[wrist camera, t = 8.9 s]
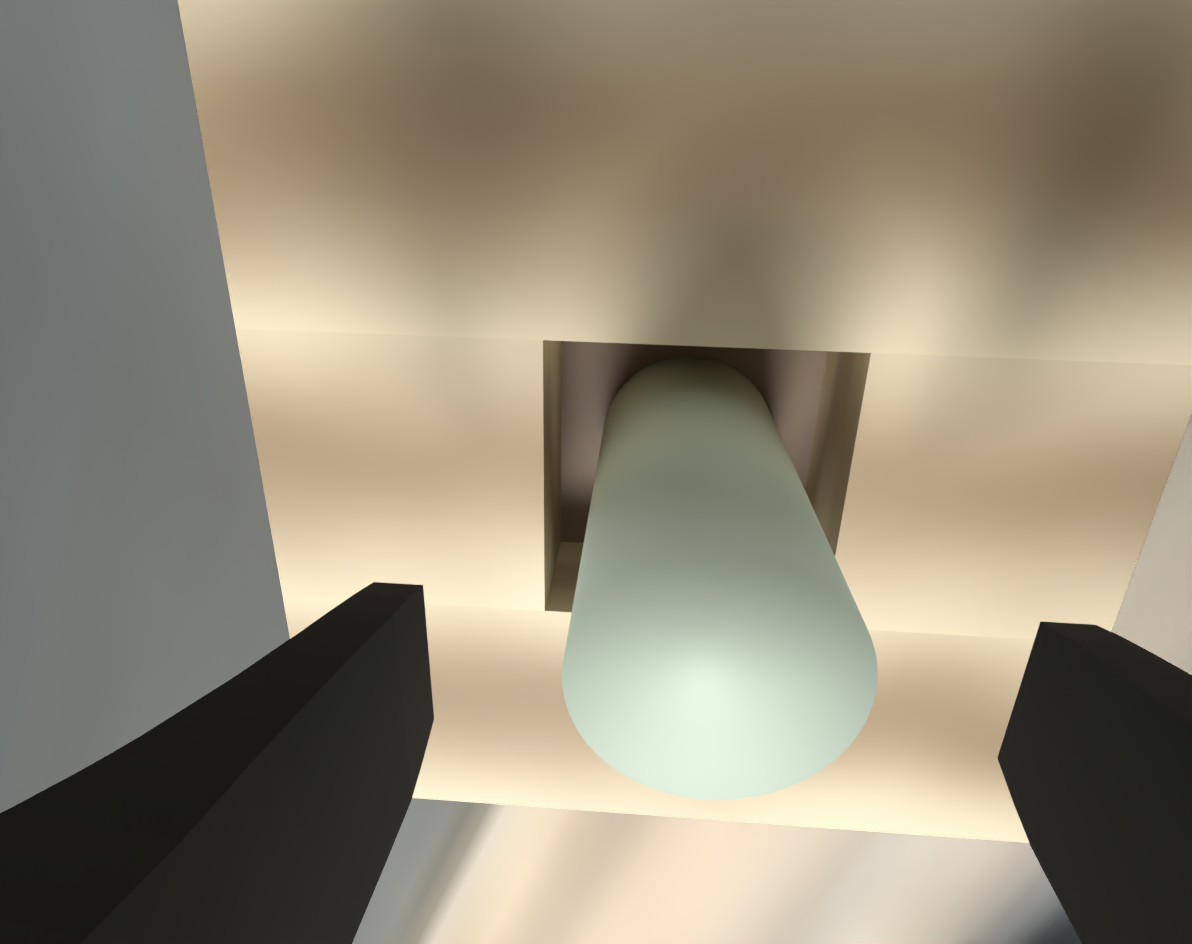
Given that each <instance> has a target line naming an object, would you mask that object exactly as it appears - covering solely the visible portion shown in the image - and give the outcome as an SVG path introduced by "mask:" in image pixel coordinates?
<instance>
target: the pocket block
mask: <svg viewBox="0 0 1192 944" xmlns="http://www.w3.org/2000/svg"><path fill="white" fill-rule="evenodd" d="M178 4H179V10H180V16H181V21H182V27H183V33H184V39H185V44H186V50H187V56H188V61H189V67H190V73H191V78H192V84H193V90H194V95H195V101H196V107H197V112H198V118H199V124H200V129H201V135H202V141H203V146H204V152H205V158H206V163H207V169H208V175H209V181H210V186H211V192H212V198H213V203H214V209H215V215H216V220H217V226H218V232H219V237H220V243H221V249H222V254H223V260H224V266H225V271H226V277H227V283H228V288H229V294H230V300H231V305H232V311H233V317H234V322H235V328H236V334H237V340H238V345H239V351H240V357H241V362H242V368H243V374H244V379H245V385H246V391H247V396H248V402H249V408H250V413H251V419H252V425H253V430H254V436H255V442H256V447H257V453H258V459H259V464H260V470H261V476H262V481H263V487H264V493H265V499H266V504H267V510H268V516H269V521H270V527H271V533H272V538H273V544H274V550H275V555H276V561H277V567H278V572H279V578H280V584H281V589H282V595H283V601H284V606H285V612H286V618H287V623H288V629H289V635H290V639H291V638H292V637H294V636H295V635H297V634H298V633H299V632H301V631H302V630H304V629H305V628H306V627H308V626H309V625H311V624H312V623H314V622H315V621H316V620H318V619H319V618H321V617H322V616H324V615H325V614H326V613H328V612H329V611H331V610H332V609H334V608H335V607H336V606H338V605H339V604H341V603H342V602H344V601H345V600H347V599H348V598H350V597H351V596H352V595H354V594H355V593H357V592H359V591H360V590H362V589H363V588H365V587H367V586H368V585H370V584H371V583H373V582H380V583H397V584H414V585H423V591H424V603H425V615H426V627H427V639H428V651H429V663H430V675H431V687H432V699H433V711H434V721H433V725H432V729H431V733H430V736H429V740H428V744H427V747H426V751H425V755H424V759H423V762H422V766H421V769H420V773H419V776H418V779H417V783H416V786H415V790H414V793H413V796H412V798H422V799H435V800H449V801H463V802H476V803H490V804H504V805H517V806H531V807H545V808H558V809H572V810H586V811H599V812H613V813H626V814H640V815H654V816H667V817H681V818H695V819H708V820H722V821H736V822H749V823H763V824H776V825H790V826H804V827H817V828H831V829H845V830H858V831H872V832H886V833H899V834H913V835H927V836H940V837H954V838H967V839H981V840H995V841H1008V842H1022V843H1029V841H1028V838H1027V836H1026V833H1025V831H1024V828H1023V826H1022V823H1021V821H1020V818H1019V816H1018V813H1017V811H1016V808H1015V806H1014V803H1013V800H1012V797H1011V795H1010V792H1009V789H1008V786H1007V784H1006V781H1005V778H1004V775H1003V772H1002V770H1001V767H1000V764H999V761H998V759H997V758H998V754H999V751H1000V748H1001V745H1002V742H1003V739H1004V735H1005V732H1006V729H1007V726H1008V723H1009V720H1010V716H1011V713H1012V710H1013V707H1014V704H1015V700H1016V697H1017V694H1018V691H1019V688H1020V685H1021V681H1022V678H1023V675H1024V672H1025V669H1026V666H1027V662H1028V659H1029V656H1030V653H1031V650H1032V647H1033V643H1034V640H1035V637H1036V634H1037V631H1038V628H1039V624H1040V621H1041V622H1058V623H1075V624H1092V625H1097V626H1100V627H1102V628H1104V629H1106V630H1108V631H1110V632H1111V631H1112V628H1113V626H1114V623H1115V620H1116V617H1117V615H1118V612H1119V609H1120V607H1121V604H1122V601H1123V598H1124V596H1125V593H1126V590H1127V588H1128V585H1129V582H1130V579H1131V577H1132V574H1133V571H1134V569H1135V566H1136V563H1137V560H1138V558H1139V555H1140V552H1141V550H1142V547H1143V544H1144V541H1145V539H1146V536H1147V533H1148V531H1149V528H1150V525H1151V522H1152V520H1153V517H1154V514H1155V512H1156V509H1157V506H1158V503H1159V501H1160V498H1161V495H1162V492H1163V490H1164V487H1165V484H1166V482H1167V479H1168V476H1169V473H1170V471H1171V468H1172V465H1173V463H1174V460H1175V457H1176V454H1177V452H1178V449H1179V446H1180V444H1181V441H1182V438H1183V435H1184V433H1185V430H1186V427H1187V425H1188V422H1189V419H1190V416H1191V414H1192V0H178ZM678 356H701V357H707V358H712V359H715V360H718V361H721V362H723V363H726V364H728V365H730V366H732V367H734V368H735V369H737V370H738V371H740V372H741V373H742V374H744V375H745V376H746V377H747V378H748V379H749V380H750V381H751V382H752V383H753V384H754V385H755V386H756V387H757V389H758V390H759V392H760V393H761V395H762V396H763V399H764V401H765V403H766V405H767V407H768V409H769V411H770V414H771V416H772V418H773V420H774V423H775V425H776V427H777V429H778V431H779V434H780V436H781V438H782V440H783V443H784V445H785V447H786V449H787V451H788V454H789V456H790V458H791V460H792V463H793V465H794V467H795V469H796V471H797V474H798V476H799V478H800V480H801V483H802V485H803V487H804V489H805V491H806V494H807V496H808V498H809V500H810V503H811V505H812V507H813V509H814V511H815V514H816V516H817V518H818V520H819V522H820V525H821V527H822V529H823V531H824V534H825V536H826V538H827V540H828V542H829V545H830V547H831V549H832V551H833V554H834V556H835V558H836V560H837V562H838V565H839V567H840V569H841V571H842V574H843V576H844V578H845V580H846V582H847V585H848V587H849V589H850V591H851V594H852V596H853V598H854V600H855V602H856V605H857V607H858V609H859V611H860V614H861V616H862V618H863V620H864V622H865V625H866V627H867V629H868V631H869V634H870V636H871V638H872V642H873V645H874V649H875V652H876V658H877V667H878V678H877V690H876V694H875V698H874V703H873V706H872V708H871V711H870V713H869V716H868V718H867V720H866V722H865V724H864V726H863V727H862V729H861V731H860V732H859V734H858V735H857V737H856V738H855V739H854V740H853V742H852V743H851V744H850V745H849V747H848V748H847V749H846V750H845V751H844V752H843V753H842V754H841V755H840V756H839V757H838V758H837V759H836V760H834V761H833V762H832V763H830V764H829V765H828V766H826V767H825V768H824V769H822V770H821V771H820V772H818V773H816V774H814V775H813V776H811V777H809V778H808V779H806V780H804V781H802V782H800V783H797V784H795V785H793V786H791V787H788V788H786V789H782V790H779V791H776V792H773V793H770V794H766V795H761V796H757V797H752V798H745V799H736V800H701V799H692V798H686V797H680V796H675V795H671V794H668V793H664V792H660V791H657V790H655V789H652V788H649V787H647V786H644V785H642V784H640V783H638V782H636V781H634V780H632V779H630V778H628V777H626V776H624V775H623V774H621V773H620V772H618V771H617V770H615V769H614V768H612V767H611V766H610V765H608V764H607V763H606V762H605V761H604V760H603V759H601V758H600V757H599V756H598V755H597V754H596V753H595V752H594V751H593V750H592V749H591V747H590V746H589V745H588V744H587V743H586V742H585V740H584V739H583V737H582V736H581V735H580V733H579V732H578V730H577V729H576V727H575V725H574V723H573V721H572V719H571V717H570V714H569V711H568V708H567V705H566V702H565V699H564V692H563V686H562V665H563V659H564V654H565V648H566V642H567V636H568V631H569V625H570V619H571V613H572V607H573V602H574V596H575V590H576V584H577V579H578V573H579V567H580V561H581V556H582V550H583V544H584V538H585V533H586V527H587V521H588V515H589V510H590V504H591V498H592V492H593V487H594V481H595V475H596V469H597V464H598V458H599V452H600V446H601V440H602V435H603V429H604V423H605V418H606V415H607V412H608V409H609V406H610V404H611V402H612V400H613V398H614V397H615V395H616V394H617V392H618V391H619V389H620V388H621V387H622V386H623V385H624V384H625V382H626V381H628V380H629V379H630V378H631V377H632V376H633V375H634V374H636V373H637V372H639V371H640V370H642V369H643V368H645V367H647V366H649V365H651V364H653V363H655V362H658V361H661V360H664V359H668V358H672V357H678Z"/></svg>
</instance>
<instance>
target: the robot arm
mask: <svg viewBox="0 0 1192 944" xmlns="http://www.w3.org/2000/svg"><path fill="white" fill-rule="evenodd" d="M433 721H434V711H433V699H432V687H431V675H430V663H429V651H428V639H427V627H426V615H425V603H424V591H423V585H414V584H397V583H380V582H373V583H371V584H370V585H368V586H367V587H365V588H363V589H362V590H360V591H359V592H357V593H355V594H354V595H352V596H351V597H350V598H348V599H347V600H345V601H344V602H342V603H341V604H339V605H338V606H336V607H335V608H334V609H332V610H331V611H329V612H328V613H326V614H325V615H324V616H322V617H321V618H319V619H318V620H316V621H315V622H314V623H312V624H311V625H309V626H308V627H306V628H305V629H304V630H302V631H301V632H299V633H298V634H297V635H295V636H294V637H292V638H291V639H289V640H288V641H286V642H285V643H283V644H282V645H280V646H279V647H278V648H276V649H275V650H273V651H272V652H270V653H269V654H267V655H266V656H264V657H263V658H262V659H260V660H259V661H257V662H256V663H254V664H253V665H251V666H250V667H248V668H247V669H246V670H244V671H243V672H241V673H240V674H238V675H237V676H235V677H234V678H232V679H231V680H229V681H228V682H226V683H224V684H223V685H221V686H220V687H218V688H216V689H215V690H213V691H212V692H210V693H208V694H207V695H205V696H204V697H202V698H201V699H199V700H197V701H196V702H194V703H193V704H191V705H189V706H188V707H186V708H185V709H183V710H181V711H180V712H178V713H177V714H175V715H174V716H172V717H170V718H169V719H167V720H166V721H164V722H162V723H161V724H159V725H158V726H156V727H154V728H153V729H151V730H150V731H148V732H147V733H145V734H143V735H142V736H140V737H138V738H137V739H135V740H133V741H132V742H130V743H128V744H127V745H125V746H123V747H121V748H120V749H118V750H116V751H115V752H113V753H111V754H109V755H108V756H106V757H104V758H102V759H101V760H99V761H97V762H95V763H93V764H92V765H90V766H88V767H86V768H85V769H83V770H81V771H79V772H77V773H76V774H74V775H72V776H70V777H68V778H66V779H64V780H62V781H61V782H59V783H57V784H55V785H53V786H51V787H49V788H48V789H46V790H44V791H42V792H40V793H38V794H36V795H34V796H33V797H31V798H29V799H27V800H25V801H23V802H21V803H20V804H18V805H16V806H14V807H12V808H10V809H8V810H6V811H4V812H2V813H0V944H352V942H353V940H354V937H355V935H356V932H357V930H358V928H359V925H360V923H361V921H362V918H363V916H364V913H365V911H366V909H367V906H368V904H369V901H370V899H371V897H372V894H373V892H374V889H375V887H376V885H377V882H378V880H379V877H380V875H381V873H382V870H383V868H384V866H385V863H386V861H387V858H388V856H389V853H390V851H391V849H392V846H393V844H394V841H395V839H396V836H397V834H398V831H399V829H400V827H401V824H402V822H403V819H404V817H405V814H406V812H407V809H408V807H409V804H410V802H411V799H412V796H413V793H414V790H415V786H416V783H417V779H418V776H419V773H420V769H421V766H422V762H423V759H424V755H425V751H426V747H427V744H428V740H429V736H430V733H431V729H432V725H433ZM997 759H998V761H999V764H1000V767H1001V770H1002V772H1003V775H1004V778H1005V781H1006V784H1007V786H1008V789H1009V792H1010V795H1011V797H1012V800H1013V803H1014V806H1015V808H1016V811H1017V813H1018V816H1019V818H1020V821H1021V823H1022V826H1023V828H1024V831H1025V833H1026V836H1027V838H1028V841H1029V843H1030V845H1031V847H1032V849H1033V851H1034V853H1035V855H1036V857H1037V859H1038V861H1039V863H1040V865H1041V867H1042V869H1043V871H1044V873H1045V874H1046V876H1047V878H1048V880H1049V882H1050V884H1051V886H1052V888H1053V890H1054V891H1055V893H1056V895H1057V897H1058V899H1059V901H1060V903H1061V905H1062V907H1063V909H1064V910H1065V912H1066V914H1067V916H1068V918H1069V920H1070V922H1071V924H1072V925H1073V927H1074V929H1075V931H1076V933H1077V935H1078V937H1079V938H1080V940H1081V942H1082V944H1192V675H1190V674H1188V673H1187V672H1185V671H1183V670H1181V669H1180V668H1178V667H1176V666H1174V665H1172V664H1171V663H1169V662H1167V661H1165V660H1163V659H1162V658H1160V657H1158V656H1156V655H1154V654H1153V653H1151V652H1149V651H1147V650H1145V649H1144V648H1142V647H1140V646H1138V645H1136V644H1134V643H1132V642H1130V641H1128V640H1126V639H1125V638H1123V637H1121V636H1119V635H1117V634H1115V633H1112V632H1110V631H1108V630H1106V629H1104V628H1102V627H1100V626H1097V625H1092V624H1075V623H1058V622H1041V621H1040V624H1039V628H1038V631H1037V634H1036V637H1035V640H1034V643H1033V647H1032V650H1031V653H1030V656H1029V659H1028V662H1027V666H1026V669H1025V672H1024V675H1023V678H1022V681H1021V685H1020V688H1019V691H1018V694H1017V697H1016V700H1015V704H1014V707H1013V710H1012V713H1011V716H1010V720H1009V723H1008V726H1007V729H1006V732H1005V735H1004V739H1003V742H1002V745H1001V748H1000V751H999V754H998V758H997Z"/></svg>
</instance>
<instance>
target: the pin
mask: <svg viewBox="0 0 1192 944" xmlns="http://www.w3.org/2000/svg"><path fill="white" fill-rule="evenodd" d="M877 678H878V667H877V658H876V652H875V649H874V645H873V642H872V638H871V636H870V634H869V631H868V629H867V627H866V625H865V622H864V620H863V618H862V616H861V614H860V611H859V609H858V607H857V605H856V602H855V600H854V598H853V596H852V594H851V591H850V589H849V587H848V585H847V582H846V580H845V578H844V576H843V574H842V571H841V569H840V567H839V565H838V562H837V560H836V558H835V556H834V554H833V551H832V549H831V547H830V545H829V542H828V540H827V538H826V536H825V534H824V531H823V529H822V527H821V525H820V522H819V520H818V518H817V516H816V514H815V511H814V509H813V507H812V505H811V503H810V500H809V498H808V496H807V494H806V491H805V489H804V487H803V485H802V483H801V480H800V478H799V476H798V474H797V471H796V469H795V467H794V465H793V463H792V460H791V458H790V456H789V454H788V451H787V449H786V447H785V445H784V443H783V440H782V438H781V436H780V434H779V431H778V429H777V427H776V425H775V423H774V420H773V418H772V416H771V414H770V411H769V409H768V407H767V405H766V403H765V401H764V399H763V396H762V395H761V393H760V392H759V390H758V389H757V387H756V386H755V385H754V384H753V383H752V382H751V381H750V380H749V379H748V378H747V377H746V376H745V375H744V374H742V373H741V372H740V371H738V370H737V369H735V368H734V367H732V366H730V365H728V364H726V363H723V362H721V361H718V360H715V359H712V358H707V357H701V356H678V357H672V358H668V359H664V360H661V361H658V362H655V363H653V364H651V365H649V366H647V367H645V368H643V369H642V370H640V371H639V372H637V373H636V374H634V375H633V376H632V377H631V378H630V379H629V380H628V381H626V382H625V384H624V385H623V386H622V387H621V388H620V389H619V391H618V392H617V394H616V395H615V397H614V398H613V400H612V402H611V404H610V406H609V409H608V412H607V415H606V418H605V423H604V429H603V435H602V440H601V446H600V452H599V458H598V464H597V469H596V475H595V481H594V487H593V492H592V498H591V504H590V510H589V515H588V521H587V527H586V533H585V538H584V544H583V550H582V556H581V561H580V567H579V573H578V579H577V584H576V590H575V596H574V602H573V607H572V613H571V619H570V625H569V631H568V636H567V642H566V648H565V654H564V659H563V665H562V686H563V692H564V699H565V702H566V705H567V708H568V711H569V714H570V717H571V719H572V721H573V723H574V725H575V727H576V729H577V730H578V732H579V733H580V735H581V736H582V737H583V739H584V740H585V742H586V743H587V744H588V745H589V746H590V747H591V749H592V750H593V751H594V752H595V753H596V754H597V755H598V756H599V757H600V758H601V759H603V760H604V761H605V762H606V763H607V764H608V765H610V766H611V767H612V768H614V769H615V770H617V771H618V772H620V773H621V774H623V775H624V776H626V777H628V778H630V779H632V780H634V781H636V782H638V783H640V784H642V785H644V786H647V787H649V788H652V789H655V790H657V791H660V792H664V793H668V794H671V795H675V796H680V797H686V798H692V799H701V800H736V799H745V798H752V797H757V796H761V795H766V794H770V793H773V792H776V791H779V790H782V789H786V788H788V787H791V786H793V785H795V784H797V783H800V782H802V781H804V780H806V779H808V778H809V777H811V776H813V775H814V774H816V773H818V772H820V771H821V770H822V769H824V768H825V767H826V766H828V765H829V764H830V763H832V762H833V761H834V760H836V759H837V758H838V757H839V756H840V755H841V754H842V753H843V752H844V751H845V750H846V749H847V748H848V747H849V745H850V744H851V743H852V742H853V740H854V739H855V738H856V737H857V735H858V734H859V732H860V731H861V729H862V727H863V726H864V724H865V722H866V720H867V718H868V716H869V713H870V711H871V708H872V706H873V703H874V698H875V694H876V690H877Z"/></svg>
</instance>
